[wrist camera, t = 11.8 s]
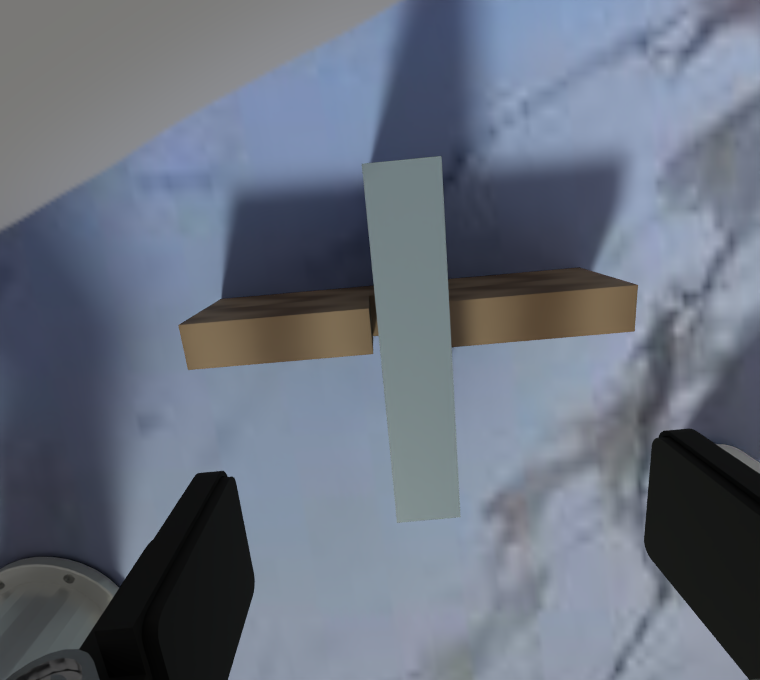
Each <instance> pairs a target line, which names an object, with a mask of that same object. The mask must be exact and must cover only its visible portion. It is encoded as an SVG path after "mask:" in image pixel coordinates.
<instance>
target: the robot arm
mask: <svg viewBox="0 0 760 680" xmlns="http://www.w3.org/2000/svg"><path fill="white" fill-rule="evenodd" d="M644 543H645V548H646V551H647V553H648V555H649V557H650V558H651V560H652V561H653V562H654V563H655V564H656V566H657V567H658V568H659V569H660V571H661V572H662V573H663V574H664V576H665V577H666V578H667V579H668V580H669V582H670V583H671V584H672V585H673V587H674V588H675V589H676V590H677V591H678V593H679V594H680V595H681V596H682V598H683V599H684V600H685V601H686V603H687V604H688V605H689V606H690V607H691V609H692V610H693V611H694V612H695V614H696V615H697V616H698V617H699V619H700V620H701V621H702V622H703V623H704V625H705V626H706V627H707V628H708V630H709V631H710V632H711V633H712V634H713V636H714V637H715V638H716V639H717V641H718V642H719V643H720V644H721V646H722V647H723V648H724V649H725V650H726V652H727V653H728V654H729V655H730V657H731V658H732V659H733V660H734V661H735V663H736V664H737V665H738V666H739V668H740V669H741V670H742V671H743V673H744V674H745V675H746V676H747V677H748V679H749V680H760V474H759V473H758V472H757V471H755V470H754V469H752V468H751V467H749V466H748V465H746V464H745V463H743V462H742V461H740V460H739V459H737V458H736V457H734V456H733V455H731V454H730V453H728V452H727V451H725V450H724V449H722V448H721V447H719V446H718V445H716V444H715V443H713V442H712V441H710V440H709V439H707V438H706V437H704V436H703V435H701V434H700V433H698V432H697V431H695V430H693V429H680V430H669V431H663V432H661V433H660V435H659V438H656V439H654V441H653V443H652V451H651V463H650V475H649V487H648V499H647V511H646V523H645V535H644ZM254 584H255V581H254V572H253V567H252V562H251V557H250V552H249V546H248V541H247V536H246V531H245V526H244V521H243V516H242V511H241V506H240V500H239V495H238V490H237V485H236V481H235V479H234V477H227V474H226V473H225V472H224V471H216V472H205V473H197V474H196V475H195V477H194V478H193V480H192V481H191V483H190V484H189V486H188V487H187V489H186V490H185V492H184V493H183V495H182V496H181V498H180V500H179V501H178V503H177V504H176V506H175V507H174V509H173V510H172V512H171V513H170V515H169V516H168V518H167V519H166V521H165V523H164V524H163V526H162V527H161V529H160V530H159V532H158V533H157V535H156V536H155V538H154V539H153V540H152V541H151V542H150V543H149V544H148V545H147V547H146V548H145V550H144V551H143V553H142V554H141V556H140V557H139V559H138V560H137V562H136V563H135V565H134V566H133V568H132V569H131V571H130V573H129V574H128V576H127V577H126V579H125V580H124V582H123V583H122V585H121V586H120V588H119V587H118V586H117V585H116V584H115V583H113V582H112V581H111V580H110V579H109V578H108V577H106V576H105V575H103V574H102V573H100V572H99V571H97V570H95V569H93V568H91V567H89V566H87V565H84V564H82V563H79V562H75V561H72V560H69V559H63V558H56V557H33V558H27V559H21V560H18V561H16V562H13V563H10V564H8V565H6V566H4V567H3V568H1V569H0V680H228V677H229V674H230V670H231V667H232V664H233V660H234V657H235V654H236V650H237V647H238V643H239V640H240V637H241V633H242V630H243V627H244V623H245V620H246V617H247V613H248V610H249V607H250V603H251V600H252V597H253V593H254Z"/></svg>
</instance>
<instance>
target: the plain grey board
mask: <svg viewBox="0 0 760 680" xmlns="http://www.w3.org/2000/svg"><path fill="white" fill-rule="evenodd" d="M362 171H363V181H364V191H365V201H366V211H367V222H368V232H369V242H370V252H371V262H372V272H373V282H374V293H375V303H376V313H377V323H378V333H379V343H380V353H381V364H382V374H383V384H384V394H385V404H386V414H387V424H388V435H389V445H390V455H391V465H392V475H393V485H394V495H395V506H396V516H397V523H400V522H411V521H422V520H434V519H445V518H456V517H460V501H459V482H458V463H457V444H456V425H455V406H454V387H453V368H452V348H451V329H450V310H449V291H448V272H447V253H446V234H445V215H444V196H443V177H442V158H441V156H436V157H426V158H416V159H406V160H396V161H386V162H376V163H366V164H362Z"/></svg>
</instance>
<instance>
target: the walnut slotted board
mask: <svg viewBox="0 0 760 680" xmlns="http://www.w3.org/2000/svg"><path fill="white" fill-rule="evenodd" d="M637 290H638V285H636V284H633V283H630V282H626V281H623V280H620V279H616V278H613V277H610V276H606V275H603V274H600V273H596V272H593V271H590V270H586V269H583V268H580V267H579V268H568V269H556V270H545V271H534V272H522V273H511V274H500V275H488V276H477V277H465V278H454V279H448V291H449V310H450V329H451V347H459V346H471V345H482V344H494V343H506V342H517V341H529V340H540V339H552V338H563V337H575V336H587V335H598V334H610V333H621V332H633V331H635V318H636V304H637ZM179 330H180V335H181V339H182V344H183V348H184V353H185V358H186V362H187V367H188V370H193V369H204V368H216V367H228V366H239V365H251V364H262V363H274V362H285V361H297V360H309V359H320V358H332V357H343V356H355V355H367V354H373V336H379V333H378V323H377V313H376V303H375V293H374V286H363V287H352V288H340V289H329V290H318V291H306V292H295V293H283V294H272V295H261V296H249V297H238V298H227V299H220V300H219V301H217V302H215V303H214V304H212V305H210V306H209V307H207V308H206V309H204V310H202V311H201V312H199V313H197V314H196V315H194V316H192V317H191V318H189V319H188V320H186V321H184V322H183V323H181V324H179Z"/></svg>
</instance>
